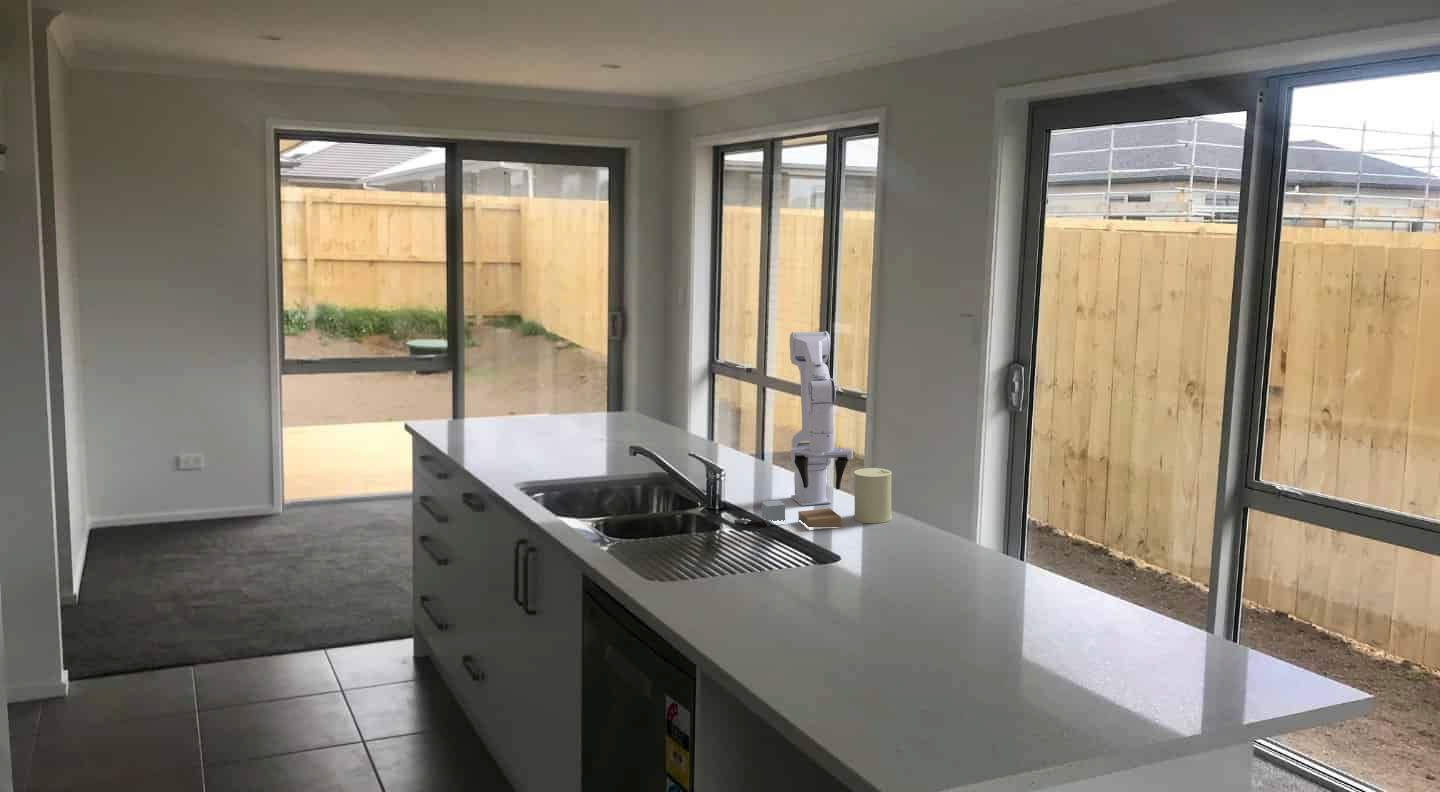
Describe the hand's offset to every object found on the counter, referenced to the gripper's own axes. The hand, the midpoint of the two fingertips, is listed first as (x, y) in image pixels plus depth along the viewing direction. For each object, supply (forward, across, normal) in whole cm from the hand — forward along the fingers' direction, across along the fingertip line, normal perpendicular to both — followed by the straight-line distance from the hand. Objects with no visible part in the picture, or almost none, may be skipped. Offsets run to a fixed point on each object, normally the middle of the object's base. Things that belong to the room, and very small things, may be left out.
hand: (822, 487), depth 268 cm
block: (+10, -12, +2) cm, 16 cm away
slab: (+10, -1, +2) cm, 11 cm away
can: (+10, +11, +10) cm, 18 cm away
